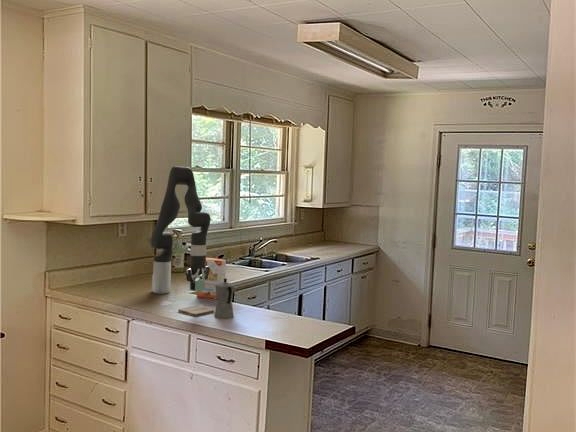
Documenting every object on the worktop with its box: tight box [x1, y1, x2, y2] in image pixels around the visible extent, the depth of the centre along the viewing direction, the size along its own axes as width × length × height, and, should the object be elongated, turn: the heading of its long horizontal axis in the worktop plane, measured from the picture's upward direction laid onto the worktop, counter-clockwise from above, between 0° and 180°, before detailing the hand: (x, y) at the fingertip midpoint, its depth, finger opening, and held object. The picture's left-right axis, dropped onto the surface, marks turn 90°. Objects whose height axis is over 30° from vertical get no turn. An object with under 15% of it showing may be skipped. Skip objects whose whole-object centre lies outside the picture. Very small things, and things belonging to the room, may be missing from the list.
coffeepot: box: [214, 277, 236, 319], centre depth 267 cm, size 15×9×18 cm, turn 24°
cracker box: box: [196, 257, 227, 300], centre depth 306 cm, size 14×6×21 cm, turn 73°
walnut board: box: [178, 304, 215, 318], centre depth 274 cm, size 12×12×1 cm
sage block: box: [189, 277, 205, 293], centre depth 273 cm, size 5×5×5 cm
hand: (197, 289), depth 273 cm, fingers closed on sage block, 5 cm apart
